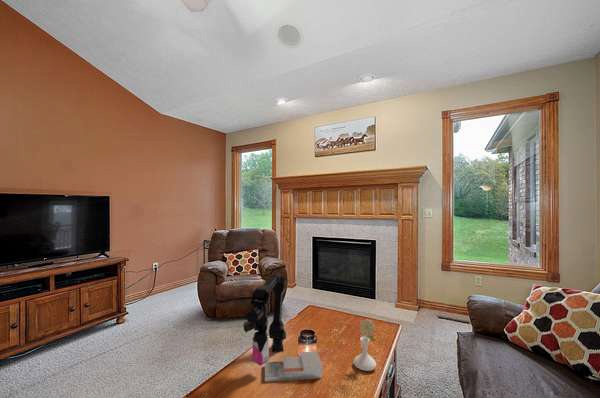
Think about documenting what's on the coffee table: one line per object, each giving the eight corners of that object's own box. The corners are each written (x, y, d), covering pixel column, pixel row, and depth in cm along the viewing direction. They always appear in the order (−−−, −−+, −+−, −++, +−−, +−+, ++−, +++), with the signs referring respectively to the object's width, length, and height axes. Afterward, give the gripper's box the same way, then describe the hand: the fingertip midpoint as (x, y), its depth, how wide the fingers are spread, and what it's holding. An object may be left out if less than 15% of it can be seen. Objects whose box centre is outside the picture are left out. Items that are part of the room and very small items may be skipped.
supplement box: (261, 355, 131) (261, 332, 131) (269, 360, 127) (269, 336, 128) (251, 361, 127) (252, 337, 127) (260, 366, 123) (260, 341, 123)
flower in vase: (349, 362, 137) (349, 314, 138) (366, 358, 142) (367, 311, 142) (364, 377, 125) (364, 324, 126) (383, 372, 130) (383, 321, 130)
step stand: (264, 366, 133) (265, 354, 133) (317, 363, 136) (317, 351, 137) (264, 381, 121) (264, 368, 121) (322, 378, 124) (322, 365, 125)
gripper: (246, 307, 136) (245, 338, 136) (242, 324, 117) (241, 359, 117) (267, 307, 137) (267, 337, 137) (267, 323, 119) (266, 358, 118)
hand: (260, 347), depth 127 cm, fingers closed on supplement box, 8 cm apart
